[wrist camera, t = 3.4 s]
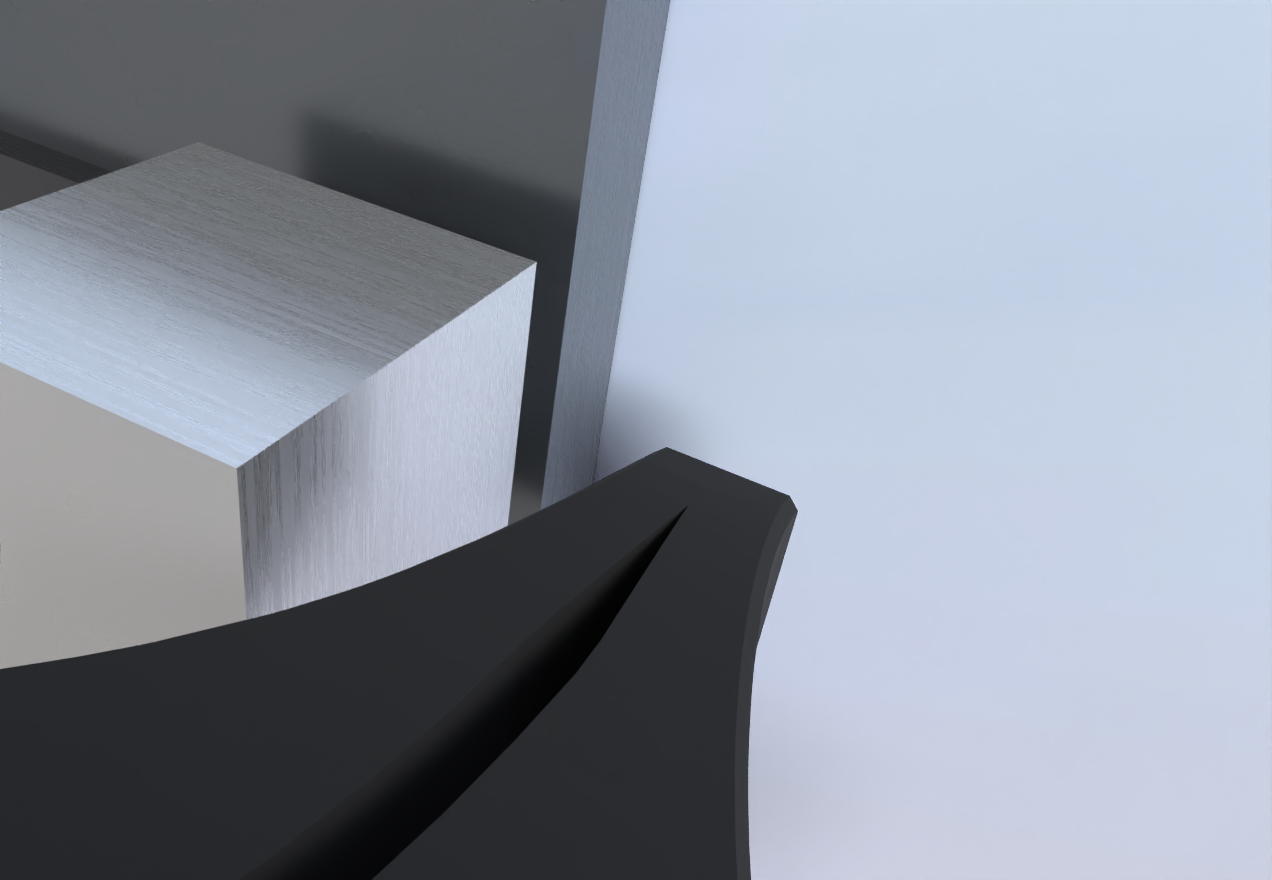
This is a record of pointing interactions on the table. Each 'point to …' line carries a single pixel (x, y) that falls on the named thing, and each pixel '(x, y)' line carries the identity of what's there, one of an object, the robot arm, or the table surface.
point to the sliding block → (239, 400)
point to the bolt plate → (382, 141)
